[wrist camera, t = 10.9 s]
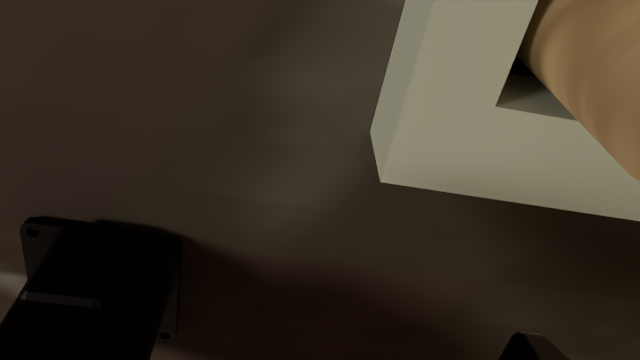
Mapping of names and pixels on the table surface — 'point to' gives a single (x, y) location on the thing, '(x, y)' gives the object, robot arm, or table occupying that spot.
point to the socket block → (486, 116)
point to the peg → (591, 68)
